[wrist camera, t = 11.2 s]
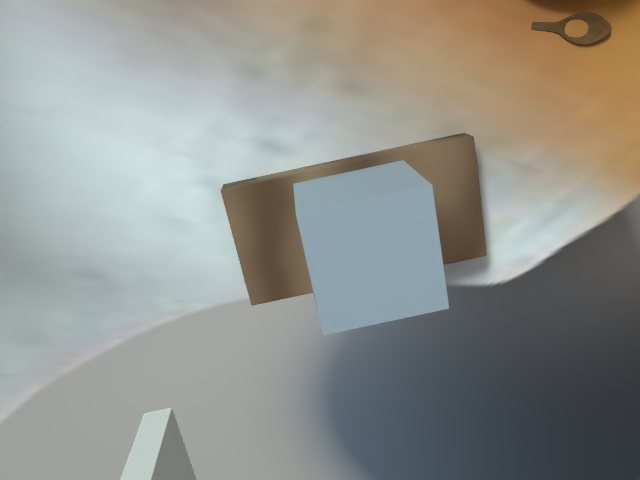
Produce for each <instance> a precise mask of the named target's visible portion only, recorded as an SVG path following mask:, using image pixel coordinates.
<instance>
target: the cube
mask: <svg viewBox="0 0 640 480" xmlns="http://www.w3.org/2000/svg"><path fill="white" fill-rule="evenodd" d="M293 187H294V199H295V210H296V217H297V221H298V226H299V230H300V235H301V239H302V244H303V248H304V253H305V257H306V261H307V266H308V270H309V275H310V279H311V284H312V288H313V293H314V296H315V301H316V306H317V310H318V314H319V318H320V324H321V328H322V333H323V335H327V334H332V333H337V332H342V331H346V330H351V329H355V328H360V327H365V326H370V325H375V324H379V323H384V322H389V321H393V320H398V319H402V318H408V317H412V316H417V315H421V314H426V313H431V312H436V311H440V310H445V309H449V303H448V295H447V288H446V281H445V274H444V267H443V259H442V252H441V245H440V238H439V230H438V223H437V216H436V209H435V201H434V194H433V187H432V184H430V183H429V182H428V181H427V180H426V179H425V178H423V177H422V176H421V175H420V174H419V173H418V172H416V171H415V170H414V169H413V168H412V167H411V166H409V165H408V164H407V163H406V162H405V161H404V160H402V161H397V162H393V163H388V164H383V165H378V166H374V167H369V168H364V169H360V170H355V171H350V172H346V173H341V174H336V175H331V176H327V177H322V178H317V179H313V180H308V181H303V182H299V183H294V184H293Z"/></svg>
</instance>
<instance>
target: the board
mask: <svg viewBox="0 0 640 480" xmlns="http://www.w3.org/2000/svg"><path fill="white" fill-rule="evenodd" d="M402 160H404V161H405V162H406V163H407V164H408V165H409V166H411V167H412V168H413V169H414V170H415V171H416V172H418V173H419V174H420V175H421V176H422V177H423V178H425V179H426V180H427V181H428V182H429V183H430V184H432V187H433V194H434V201H435V209H436V216H437V223H438V230H439V238H440V245H441V252H442V259H443V265H444V264H449V263H454V262H458V261H463V260H468V259H472V258H477V257H482V256H486V255H487V252H486V243H485V234H484V225H483V216H482V207H481V198H480V189H479V180H478V171H477V162H476V153H475V144H474V137H473V136H471V135H468V134H466V133H462V134H457V135H453V136H448V137H443V138H439V139H434V140H429V141H425V142H420V143H415V144H411V145H406V146H401V147H397V148H392V149H387V150H383V151H378V152H373V153H369V154H364V155H359V156H355V157H350V158H345V159H341V160H336V161H331V162H327V163H322V164H317V165H313V166H308V167H303V168H299V169H294V170H289V171H284V172H280V173H275V174H270V175H266V176H261V177H256V178H252V179H247V180H242V181H238V182H233V183H228V184H224V185H223V187H222V189H221V193H222V197H223V201H224V205H225V208H226V212H227V216H228V220H229V223H230V227H231V231H232V234H233V238H234V242H235V246H236V249H237V253H238V257H239V261H240V264H241V268H242V272H243V275H244V279H245V283H246V287H247V290H248V294H249V298H250V302H251V305H257V304H261V303H266V302H270V301H275V300H280V299H284V298H289V297H294V296H299V295H304V294H308V293H313V288H312V284H311V279H310V275H309V270H308V266H307V261H306V257H305V253H304V248H303V244H302V239H301V235H300V230H299V226H298V221H297V217H296V210H295V199H294V187H293V184H294V183H299V182H303V181H308V180H313V179H317V178H322V177H327V176H331V175H336V174H341V173H346V172H350V171H355V170H360V169H364V168H369V167H374V166H378V165H383V164H388V163H393V162H397V161H402Z"/></svg>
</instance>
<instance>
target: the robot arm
mask: <svg viewBox="0 0 640 480" xmlns="http://www.w3.org/2000/svg"><path fill="white" fill-rule="evenodd" d="M120 480H196V477H195V474H194V472H193V469H192V465H191V463H190V460H189V457H188V454H187V451H186V448H185V445H184V442H183V439H182V436H181V433H180V430H179V427H178V424H177V421H176V419H175V416H174V413H173V410H172V408H167V409H162V410H158V411H153V412H148V413H144V415H143V418H142V420H141V423H140V426H139V429H138V431H137V434H136V437H135V440H134V443H133V445H132V448H131V451H130V454H129V456H128V460H127V462H126V465H125V468H124V470H123V473H122V476H121V479H120Z"/></svg>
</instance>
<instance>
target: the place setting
mask: <svg viewBox="0 0 640 480" xmlns="http://www.w3.org/2000/svg"><path fill="white" fill-rule="evenodd" d="M574 19H579V20H583V21H585V22H587V24H588V26H589V29H588V32H587V34H586V35H584V36H582V37H578V38H574V37H569V36H568V35H566V34H565V31H564V29H565V25H566V23H567V22H569V21H571V20H574ZM532 30H540V31H550V32H555V33H557V34H559V35H560V36H562V37H563V38H564V39H565V40H567V41H569V42H571V43H574V44H578V45H588V44H592V43H595V42H598V41H600V40H602V39H604V38H605V37H606V36H608V35H609V34H610V32H611V26H610V24H609V23H608V22H607V21H606V20H605V19H604V18H602V17H600V16H599V15H596V14H594V13H588V12H584V13H578V14H574V15H572V16H569V17H567V18H565V19H564V20H562V21H559V22H553V23H545V22H533V23H532Z"/></svg>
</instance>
